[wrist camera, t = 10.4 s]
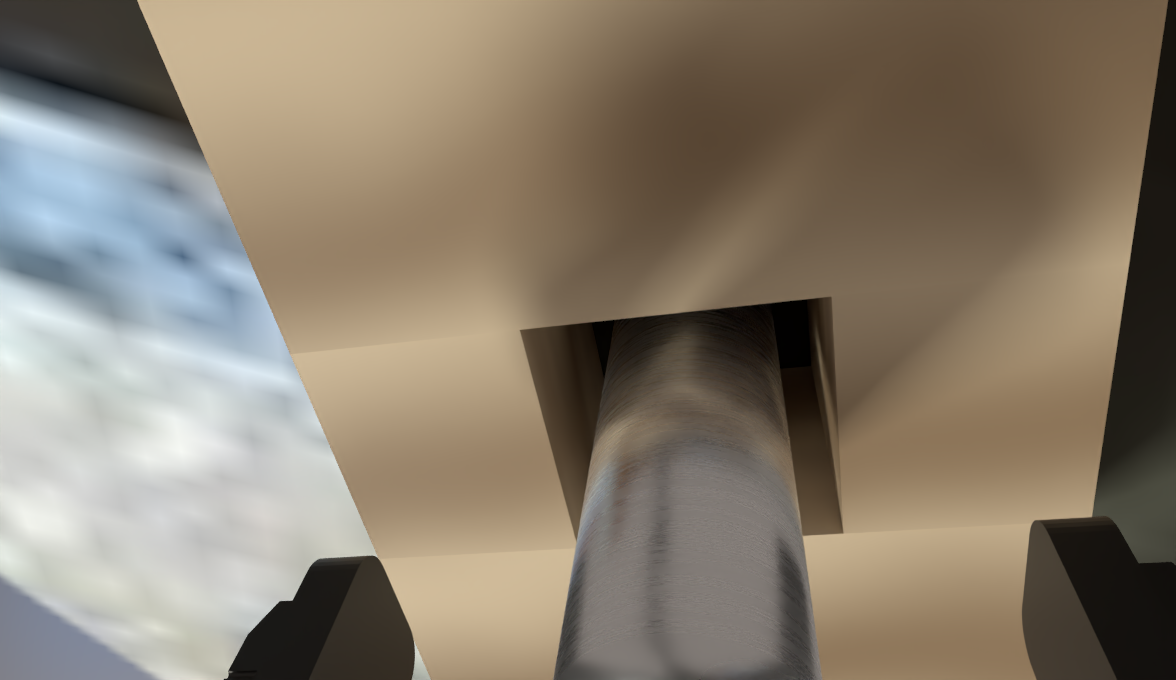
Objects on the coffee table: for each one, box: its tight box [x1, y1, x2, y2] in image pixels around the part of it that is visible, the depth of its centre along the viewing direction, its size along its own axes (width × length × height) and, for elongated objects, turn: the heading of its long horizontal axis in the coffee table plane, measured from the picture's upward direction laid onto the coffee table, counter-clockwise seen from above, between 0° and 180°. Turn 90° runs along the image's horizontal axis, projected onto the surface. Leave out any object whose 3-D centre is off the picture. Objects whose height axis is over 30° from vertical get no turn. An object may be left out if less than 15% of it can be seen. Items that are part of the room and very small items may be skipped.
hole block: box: [137, 0, 1168, 680], centre depth 16 cm, size 16×12×5 cm
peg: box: [553, 303, 822, 680], centre depth 13 cm, size 3×3×10 cm
